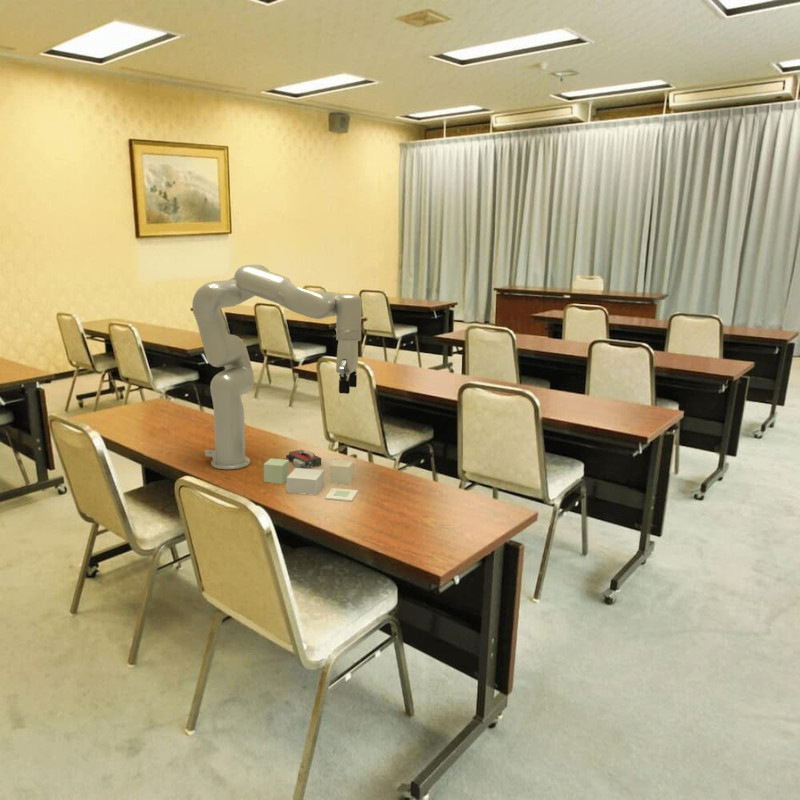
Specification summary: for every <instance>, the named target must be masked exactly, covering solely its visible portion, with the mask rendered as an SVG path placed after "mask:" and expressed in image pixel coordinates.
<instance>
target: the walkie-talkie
mask: <svg viewBox="0 0 800 800" xmlns="http://www.w3.org/2000/svg"><path fill="white" fill-rule="evenodd" d="M285 458H286V459H287V460H291V461H290V462H292V461H293V462H292V463H293V467H295V466H296V467H295V468H304V469H312V467H311V466H314V467H319V466H321V465H322V457H320V456H317V455H316V454H315V453H314V452H311V451H309V450H304V449H297V450H293V451H290V452H289V453H288V454H286V456H285ZM309 467H310V468H309Z"/></svg>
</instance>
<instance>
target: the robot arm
mask: <svg viewBox="0 0 800 800" xmlns="http://www.w3.org/2000/svg"><path fill="white" fill-rule="evenodd" d="M253 297H258V298H261V299H264V300H267V301H269V302H273V303H276V304H277V305H280V306H281V307H283V308H285V309H286V310H289V311H291V312H294V313H297V314H299V315H302V316H305V317H308V318H311V319H314V320H315V319H316V320H322V319H326V318H331V317H336V318H335V319H336V321H335V323H336V329H335V330H336V333H335V334H336V336H335V339H336V341H338V343H337V349H336V350H337V351H336V362H335V363H336V366H335V367H336V368H335V371H336V373H338V374H339V377H338V393H339V394H347V395H348V394H350V391H351V389H350V388H356V387H357V384H358V383H357V380H358V379H357V378H358V377H357V375H358V374H357V370H358V367H359V366H358V365H359V342H360V341H361V340H362V306H363V305H362V304H363V303H362V297H361V296H360V295H359V294H355V293H343V294H342V293H341V294H340V293H335V292H331V291H325V292H318V293H316V292H313V291H310V290H307V289H304V288H302V287H300V286H297V285H295V284H293V283H292V282H291V279H290V278H289V277H287V276H284V275H280V274H278V273H275V272H272V271H270V270H269V269H268V267H266V266H264V265H262V264H245V265H242V266H240V267H239V268H237V270H236V271H235V272H234V276H233V277H231V278H230V279H228V280H227V279H226V280H215V281H210V282H207V283H205V284H203V285H202V286H200V287H199V288H198V289H197V290H196V292H195V293H194V295H193V298H192V302H191V303H192V311H193V315H194V318H195V321H196V325H197V328H198V331H199V337H200V339H201V344H202V346H203V351H204V355H205V357H206V359H207V362H208V363H209V365H211V366H212V367H215V368H222V367H224V370H222V371H219V372H218V373H217V374H215V375H214V376H213V378H212V379H211V381H210V386H209V387H210V396H211V400H212V406H213V407H212V408H213V421H214V422H213V423H214V443H215V445H214V446H215V448H214V450H213V449H205V450H204V456H205V457H206V458H212V459H211V462H210V465H211V467H213V468H215V469H218V470H237V469H242V468H243V469H244V468H245V467H247V466H248V465H250V463H251V458H249V457H248V456H246V439H245V437H246V436H245V435H246V434H245V433H246V432H245V411H244V410H245V409H244V405H243V402H242V398H241V397H242V395H244V394H247V393H248V392H249V391H251V390H252V389H253V387H254V385H255V384H254V383H255V375H254V370H253V368H252V363H251V359H250V355H249V352H248V348H247V346H246V344H245V342H244V341H243V339H242V338H240V336H237V335H235V334H229V332H228V328H227V323H226V322H225V319H224V317H223V315H222V314H221V312H220V310H221V309H223V308H229V307H235V306H238V305H240V304H242V303H244V302H246V301H248V300H250V299H253Z"/></svg>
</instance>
